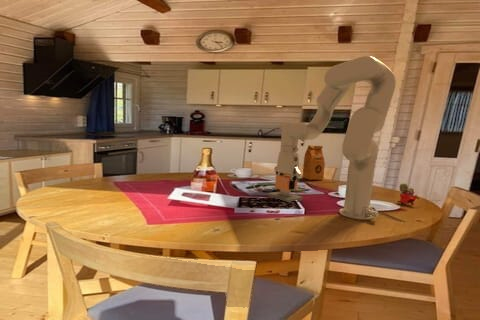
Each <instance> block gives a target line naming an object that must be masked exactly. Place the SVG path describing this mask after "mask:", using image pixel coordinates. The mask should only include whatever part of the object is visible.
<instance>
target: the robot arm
mask: <svg viewBox="0 0 480 320" xmlns="http://www.w3.org/2000/svg"><path fill="white" fill-rule="evenodd" d="M323 78H324V83H325V86H324V88H323V89H322V90H321V91H320V93H319V95H318V96H317V97H316V104H317V105H316V106H317V110H316V113H315V114H314V116H313V117H312V119H311V121H310V122H306V121H305V122H293V121H292V122H291V121H290V122H289V121H284V122H283V123H282V126H281V138H280V150H279V152H278V157H277V163H276V166H274V168H273V170H274V171H275V172H274V173H275V174H276V175H284V174H288V175H289V176H290V180H291V181H290V182H289V189H290V190H291V189H295V181H296V180H297V181H298V179H299V178H300V177H301V175H302V173H301V171H300V157H299V156H300V155H299V153H298V151H299V148H298V144H299V143H298V142H299V140H301V141H307V140H311V141H312V140H314V139H317V138H318V137H319V136H321V134H322V133H323V131H324V130H325V128H326V127H327V126H328V124H329V123H330V121H331V119H332V116H333V113H334V110H335V109H336V108H337V106H338V105H339V103H340V102H342V99H343V98H344V97H345V96H346V94H347V93H348V91H349V90H350V89H351V88H352V86H353V85H354V84H355V83H359V82H365V83H368V84H369V85H370V89H369V91H368V94H367V96H366V99H365V103H364V105H363V107H360V108H357V109H356V110H355V111H354V112H353V114H352V115H351V117H350V120H349V122H348V126H347V130H346V132H345V135H344V139H343V142H342V148H341V149H342V154H343V156H344V158H345V159H346V160H347V161H349V163H348V168H347V175H346V187H345V193H344V194H345V195H344V203H343V208H340V209H339V214H340V215H341V216H344V217H346V218H349V219H355V220H360V221H361V220H362V221H363V220H365V221H367V220H372V219H373V218H378V217H379V211H377V210H373V205H371V200H372V199H371V198H372V191H373V189H372V188H373V183H374V175H375V169H376V168H375V167H376V162H377V159H378V154H379V147H378V144H377V141H376V140H375V139H374V135H375V134H376V133H378V132H380V131H381V130H382V129H383V128H384V125H385V122H386V118H387V116H388V112H389V110H390V106H391V102H392V99H393V96H394V93H395V89H396V85H397V84H396V81H397V80H396V77H395V73H394V72H393V70H392V69H391V68H390V67H389V66H387V65H386V64H385V63H383V62H382V61H380V60H379V59H377V58H376V57H373V56H370V55H363V56H359V57H356V58H353V59H351V60H348V61H345V62H341V63H338V64H336V65H333V66H331V67H329V69H328V70H327V71H326V72H325V74H324V77H323ZM295 174H296V175H295ZM276 175H275V176H276ZM292 176H293V177H292Z"/></svg>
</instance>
